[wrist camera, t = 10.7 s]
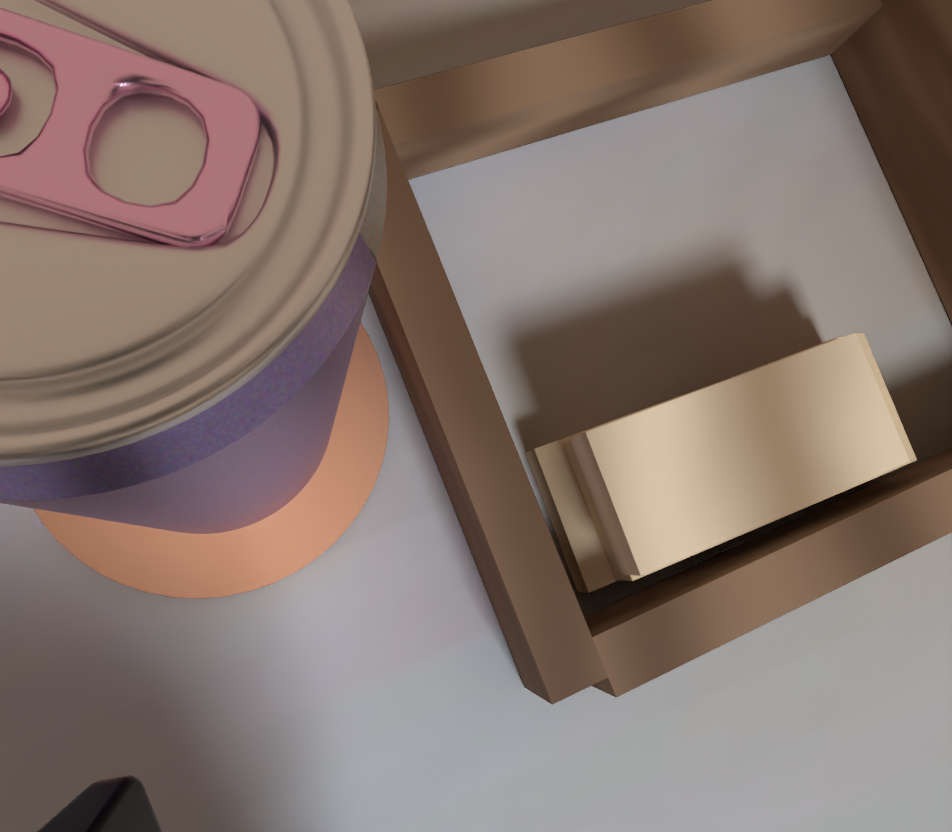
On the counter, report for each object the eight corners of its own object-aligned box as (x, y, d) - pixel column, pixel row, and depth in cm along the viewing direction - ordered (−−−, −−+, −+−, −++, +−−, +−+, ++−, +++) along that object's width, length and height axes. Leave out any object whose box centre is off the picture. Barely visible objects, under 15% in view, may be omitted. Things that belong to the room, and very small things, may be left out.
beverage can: (294, 561, 21) (282, 582, 6) (45, 499, 20) (-677, 349, 5) (359, 336, 22) (477, -94, 7) (127, 267, 21) (-267, -383, 6)
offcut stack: (574, 590, 23) (622, 597, 19) (522, 454, 23) (561, 436, 20) (866, 468, 25) (956, 454, 22) (815, 346, 26) (896, 313, 22)
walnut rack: (531, 705, 22) (684, 808, 13) (313, 152, 23) (320, -91, 14) (1053, 454, 26) (1425, 406, 18) (849, 2, 27) (1103, -252, 19)
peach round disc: (89, 656, 20) (83, 659, 19) (-34, 310, 20) (-43, 303, 20) (436, 515, 22) (440, 514, 21) (315, 207, 23) (315, 198, 22)
